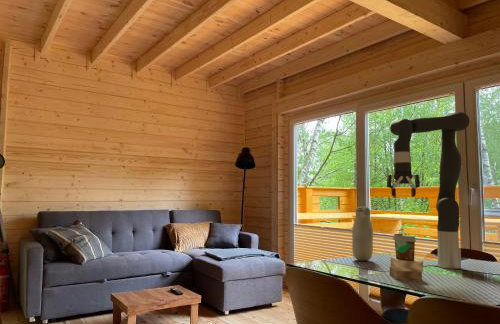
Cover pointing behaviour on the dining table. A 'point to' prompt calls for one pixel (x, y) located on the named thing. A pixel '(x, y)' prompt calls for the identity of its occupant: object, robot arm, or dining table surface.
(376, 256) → the dining table surface
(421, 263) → the birch slab
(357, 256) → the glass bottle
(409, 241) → the food container
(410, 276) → the walnut slab
